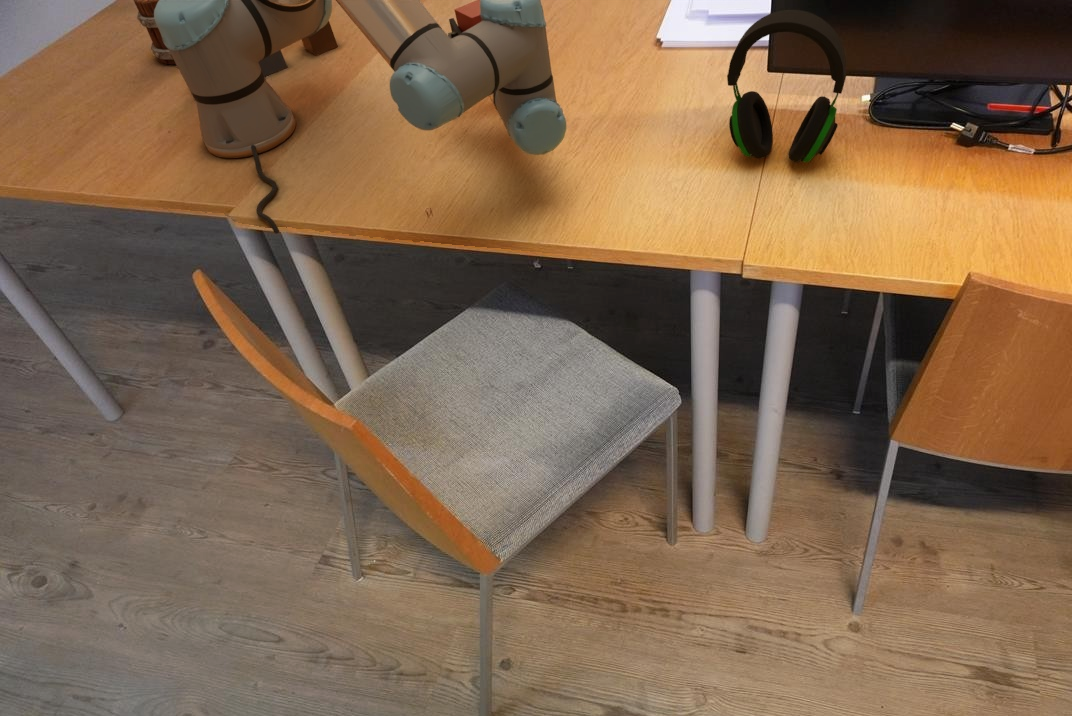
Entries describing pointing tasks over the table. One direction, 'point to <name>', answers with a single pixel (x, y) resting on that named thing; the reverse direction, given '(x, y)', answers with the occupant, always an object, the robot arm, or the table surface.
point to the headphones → (751, 111)
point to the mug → (153, 29)
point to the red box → (468, 15)
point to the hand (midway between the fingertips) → (474, 22)
